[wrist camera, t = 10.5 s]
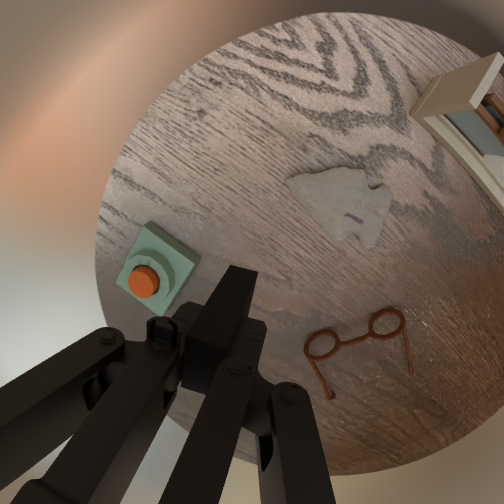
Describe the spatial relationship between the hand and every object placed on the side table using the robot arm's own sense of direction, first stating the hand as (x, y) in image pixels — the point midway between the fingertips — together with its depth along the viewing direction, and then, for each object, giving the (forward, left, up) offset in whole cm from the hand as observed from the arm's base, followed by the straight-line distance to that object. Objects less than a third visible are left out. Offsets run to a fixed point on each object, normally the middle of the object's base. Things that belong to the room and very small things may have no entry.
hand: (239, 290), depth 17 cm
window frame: (+14, +21, -20) cm, 32 cm away
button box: (-8, -15, -20) cm, 26 cm away
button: (-8, -15, -16) cm, 23 cm away
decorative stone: (+4, +5, -20) cm, 21 cm away
